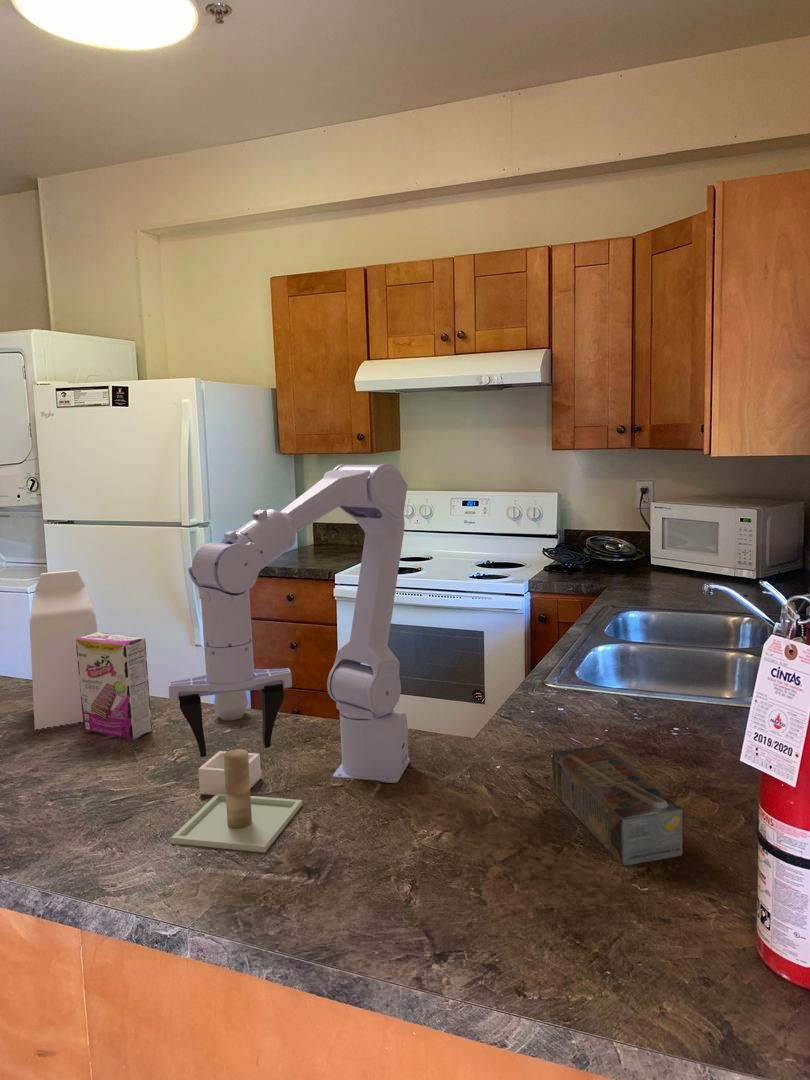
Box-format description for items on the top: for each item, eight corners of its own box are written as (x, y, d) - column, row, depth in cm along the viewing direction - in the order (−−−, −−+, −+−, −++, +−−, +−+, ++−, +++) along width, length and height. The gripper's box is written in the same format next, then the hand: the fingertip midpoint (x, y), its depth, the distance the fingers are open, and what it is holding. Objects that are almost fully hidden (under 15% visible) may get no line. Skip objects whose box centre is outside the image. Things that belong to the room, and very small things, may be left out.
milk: (34, 730, 135) (20, 580, 132) (35, 709, 146) (22, 570, 142) (109, 718, 140) (97, 573, 137) (105, 699, 150) (93, 564, 147)
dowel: (250, 815, 100) (246, 747, 99) (253, 826, 97) (249, 756, 96) (226, 819, 99) (222, 751, 98) (228, 830, 96) (224, 760, 95)
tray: (302, 808, 103) (301, 800, 103) (265, 856, 91) (264, 846, 91) (218, 801, 106) (217, 793, 105) (171, 847, 94) (170, 837, 94)
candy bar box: (81, 733, 133) (73, 638, 131) (104, 723, 137) (96, 631, 135) (132, 742, 128) (124, 643, 126) (154, 731, 133) (146, 636, 130)
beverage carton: (620, 869, 86) (620, 812, 86) (549, 795, 105) (549, 747, 104) (685, 858, 88) (685, 802, 87) (604, 787, 107) (604, 740, 106)
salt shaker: (240, 723, 135) (235, 649, 133) (209, 721, 136) (204, 648, 135) (253, 711, 141) (249, 640, 139) (223, 710, 142) (219, 639, 140)
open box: (261, 780, 112) (259, 753, 111) (242, 800, 106) (240, 771, 105) (221, 777, 113) (219, 750, 113) (200, 796, 107) (198, 768, 107)
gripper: (283, 628, 101) (289, 729, 103) (166, 640, 97) (173, 745, 99) (291, 641, 94) (297, 749, 96) (165, 654, 90) (174, 767, 92)
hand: (235, 749), depth 97 cm, fingers open, 7 cm apart
